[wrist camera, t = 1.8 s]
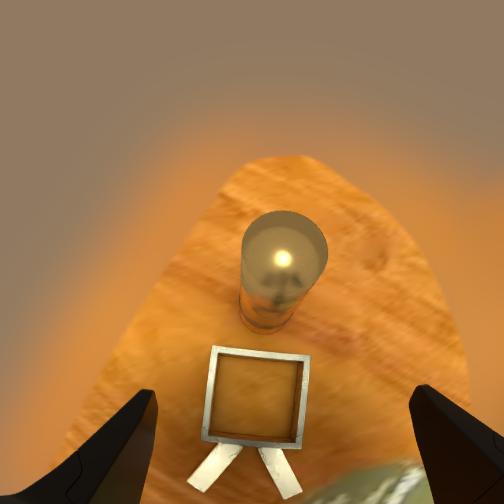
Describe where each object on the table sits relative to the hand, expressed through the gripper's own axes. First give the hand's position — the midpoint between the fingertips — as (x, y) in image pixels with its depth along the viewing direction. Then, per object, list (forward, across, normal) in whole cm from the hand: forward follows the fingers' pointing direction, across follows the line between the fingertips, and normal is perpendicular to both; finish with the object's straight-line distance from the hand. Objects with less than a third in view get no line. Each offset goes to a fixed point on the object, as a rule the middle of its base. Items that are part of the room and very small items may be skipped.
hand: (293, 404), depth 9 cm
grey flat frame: (+7, +1, +10) cm, 13 cm away
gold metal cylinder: (+13, 0, +4) cm, 14 cm away
